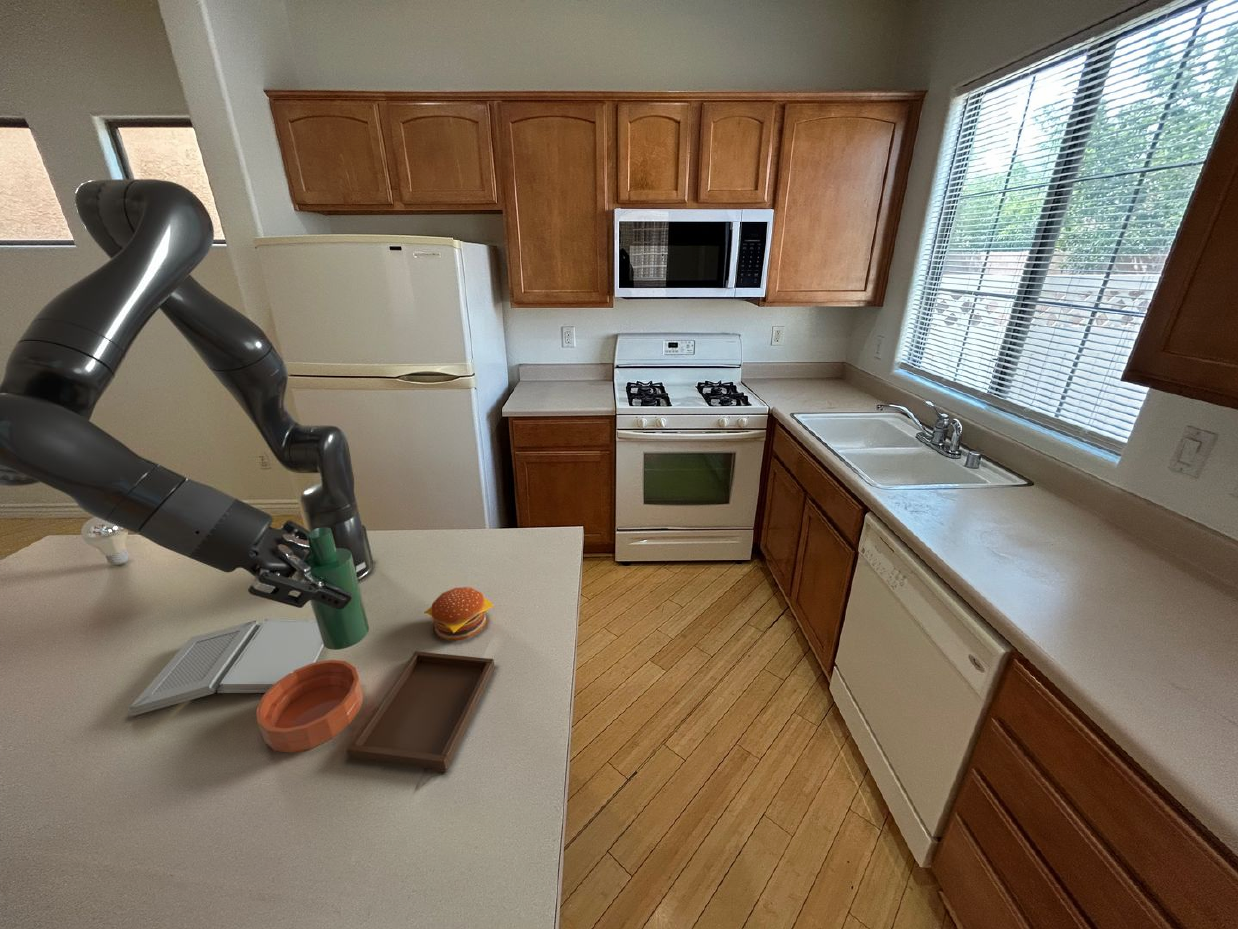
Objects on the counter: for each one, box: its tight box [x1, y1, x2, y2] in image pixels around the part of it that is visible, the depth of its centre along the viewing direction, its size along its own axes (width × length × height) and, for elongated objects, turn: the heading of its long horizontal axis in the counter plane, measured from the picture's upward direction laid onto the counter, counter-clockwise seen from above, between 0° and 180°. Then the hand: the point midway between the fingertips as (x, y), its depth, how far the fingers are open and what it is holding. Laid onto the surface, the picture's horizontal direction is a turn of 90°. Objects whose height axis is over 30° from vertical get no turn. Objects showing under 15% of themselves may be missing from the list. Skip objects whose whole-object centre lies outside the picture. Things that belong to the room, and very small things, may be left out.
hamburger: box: [423, 586, 495, 641], centre depth 86 cm, size 9×10×7 cm
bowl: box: [255, 659, 365, 754], centre depth 69 cm, size 12×12×4 cm
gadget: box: [128, 618, 324, 717], centre depth 77 cm, size 23×15×4 cm, turn 102°
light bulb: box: [80, 516, 130, 566], centre depth 102 cm, size 7×7×12 cm
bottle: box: [303, 527, 370, 651], centre depth 61 cm, size 6×6×16 cm
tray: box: [346, 650, 496, 773], centre depth 70 cm, size 18×14×2 cm
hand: (349, 587), depth 62 cm, fingers closed on bottle, 5 cm apart
